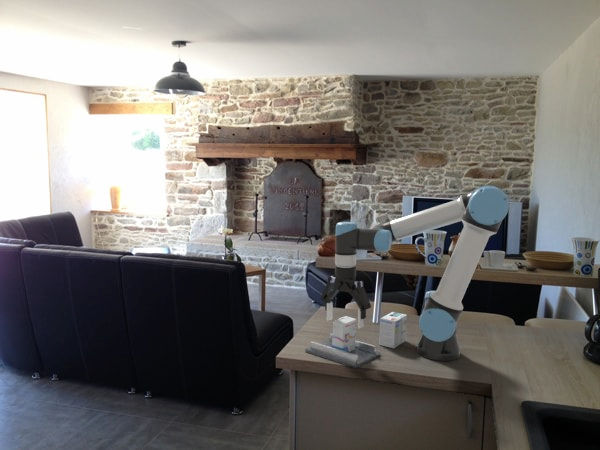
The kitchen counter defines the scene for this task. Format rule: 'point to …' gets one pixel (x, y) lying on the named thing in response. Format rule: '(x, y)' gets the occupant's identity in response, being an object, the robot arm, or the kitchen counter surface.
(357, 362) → the rail board
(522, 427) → the kitchen counter surface
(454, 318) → the robot arm
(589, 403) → the kitchen counter surface
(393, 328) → the light bulb box
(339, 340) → the ink box
